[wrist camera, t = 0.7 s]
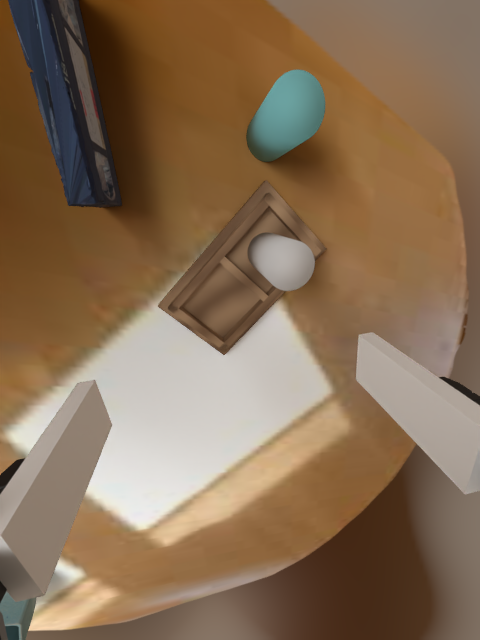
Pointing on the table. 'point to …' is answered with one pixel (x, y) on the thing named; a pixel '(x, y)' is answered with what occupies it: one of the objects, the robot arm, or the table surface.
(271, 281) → the white cylinder
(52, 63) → the vhs cassette tape
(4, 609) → the flower pot
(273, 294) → the rack
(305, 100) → the teal rounded cylinder
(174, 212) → the table surface
